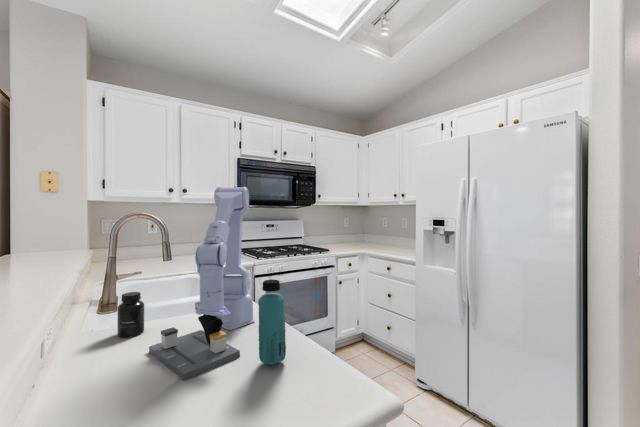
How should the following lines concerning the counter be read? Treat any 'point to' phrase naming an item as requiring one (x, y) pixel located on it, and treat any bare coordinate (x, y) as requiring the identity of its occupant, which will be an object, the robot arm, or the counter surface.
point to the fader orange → (218, 341)
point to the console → (192, 355)
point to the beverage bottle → (271, 324)
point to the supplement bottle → (130, 315)
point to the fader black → (169, 337)
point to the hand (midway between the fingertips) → (212, 343)
